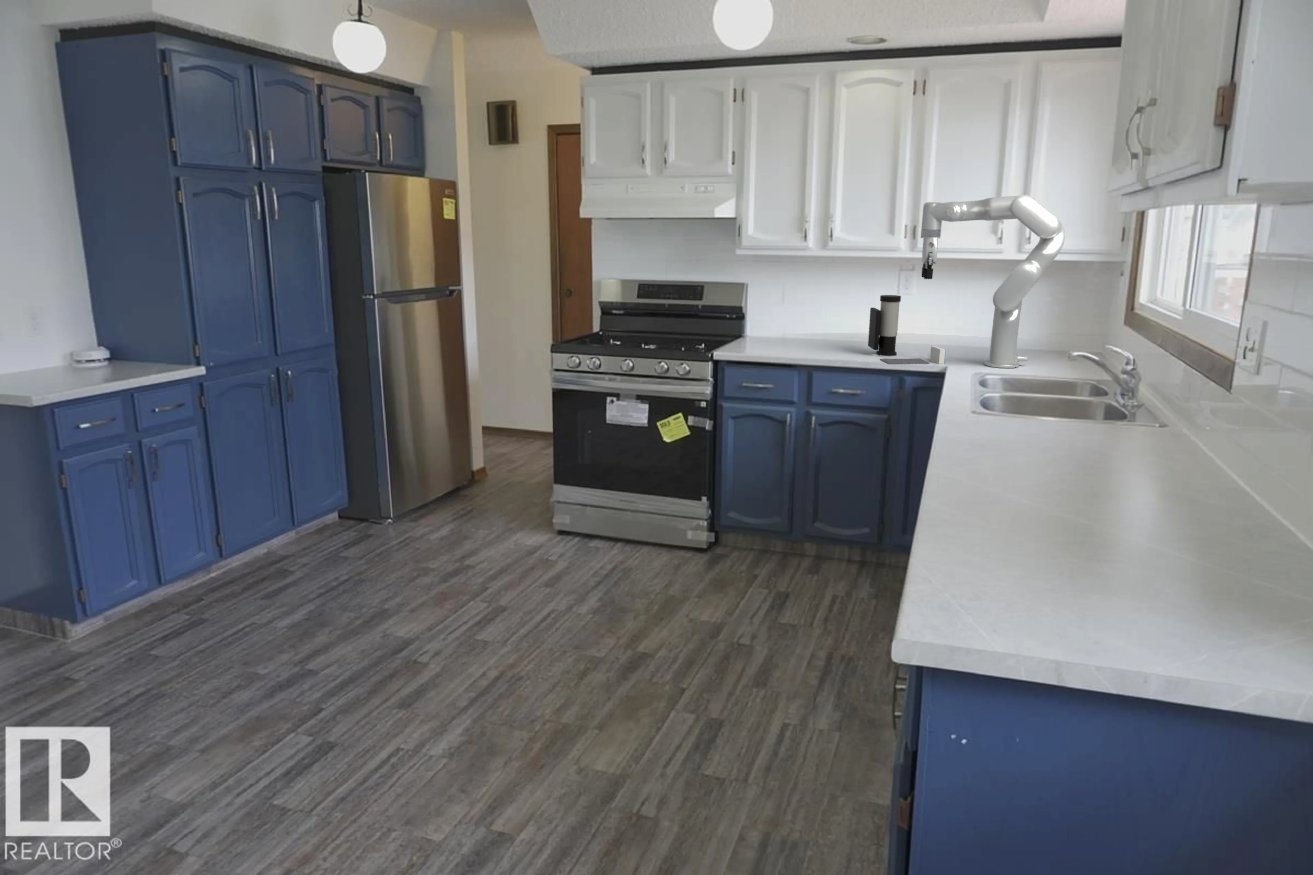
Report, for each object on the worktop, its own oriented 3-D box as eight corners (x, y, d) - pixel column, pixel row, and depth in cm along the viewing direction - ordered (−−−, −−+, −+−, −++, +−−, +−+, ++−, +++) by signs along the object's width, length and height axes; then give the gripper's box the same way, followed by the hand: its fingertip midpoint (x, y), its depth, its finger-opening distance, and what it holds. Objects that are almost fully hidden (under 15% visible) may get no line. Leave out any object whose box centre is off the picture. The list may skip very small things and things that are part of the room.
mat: (919, 359, 358) (920, 358, 358) (929, 363, 349) (929, 362, 349) (879, 359, 357) (879, 359, 357) (888, 364, 347) (888, 363, 347)
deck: (935, 360, 356) (937, 346, 355) (944, 364, 348) (946, 349, 346) (929, 360, 356) (931, 346, 355) (938, 364, 348) (940, 349, 346)
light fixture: (899, 356, 365) (904, 297, 359) (873, 356, 365) (877, 297, 359) (892, 352, 377) (897, 294, 370) (867, 352, 377) (871, 294, 371)
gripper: (943, 235, 337) (938, 280, 341) (938, 234, 353) (934, 276, 358) (923, 234, 338) (919, 279, 343) (918, 233, 355) (915, 276, 359)
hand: (926, 278), depth 350 cm, fingers open, 9 cm apart
